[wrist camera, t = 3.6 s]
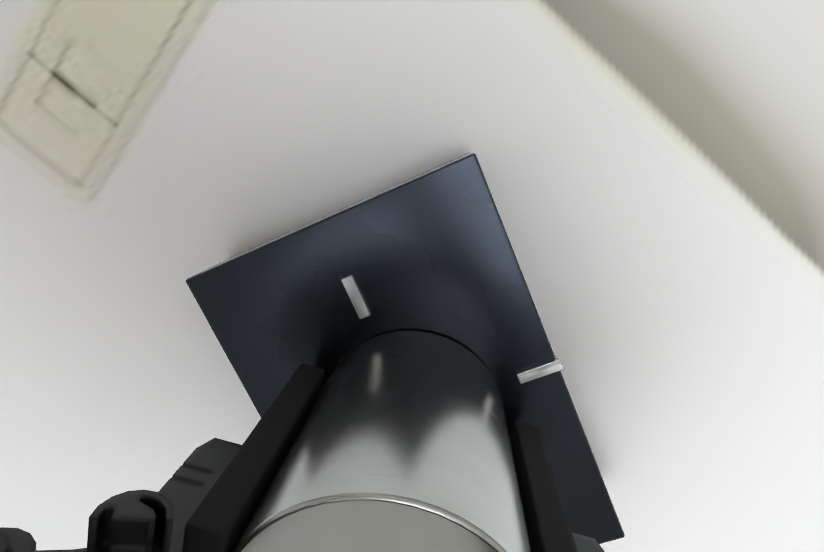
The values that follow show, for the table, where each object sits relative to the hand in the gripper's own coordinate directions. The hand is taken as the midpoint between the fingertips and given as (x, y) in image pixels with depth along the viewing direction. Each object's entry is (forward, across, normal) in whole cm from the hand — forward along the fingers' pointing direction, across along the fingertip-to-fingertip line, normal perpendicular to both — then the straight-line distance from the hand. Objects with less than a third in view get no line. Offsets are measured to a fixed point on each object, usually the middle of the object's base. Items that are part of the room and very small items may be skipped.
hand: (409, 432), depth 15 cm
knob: (+1, 0, 0) cm, 1 cm away
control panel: (+4, 0, 0) cm, 4 cm away
